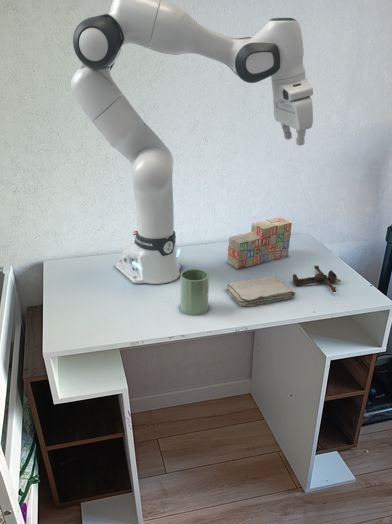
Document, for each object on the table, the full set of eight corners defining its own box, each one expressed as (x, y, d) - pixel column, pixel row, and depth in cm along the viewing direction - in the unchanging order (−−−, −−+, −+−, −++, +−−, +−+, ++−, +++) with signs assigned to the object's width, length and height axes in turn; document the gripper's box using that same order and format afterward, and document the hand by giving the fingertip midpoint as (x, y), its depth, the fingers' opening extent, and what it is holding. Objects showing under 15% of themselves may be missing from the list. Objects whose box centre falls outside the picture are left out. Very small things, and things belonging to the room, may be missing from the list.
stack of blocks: (238, 269, 166) (240, 234, 159) (227, 262, 171) (228, 227, 164) (288, 256, 176) (292, 222, 169) (276, 250, 180) (280, 216, 173)
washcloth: (223, 290, 154) (224, 281, 152) (275, 281, 159) (276, 272, 158) (240, 308, 145) (241, 299, 143) (295, 298, 150) (296, 289, 148)
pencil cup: (175, 307, 145) (174, 274, 139) (195, 298, 149) (195, 266, 144) (193, 317, 140) (193, 283, 134) (213, 308, 145) (214, 275, 139)
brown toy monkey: (285, 263, 163) (329, 257, 164) (285, 275, 166) (328, 269, 167) (303, 289, 149) (351, 282, 150) (302, 301, 151) (349, 294, 152)
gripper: (265, 87, 143) (271, 138, 151) (291, 94, 126) (297, 151, 134) (286, 81, 143) (291, 132, 151) (315, 88, 126) (319, 145, 134)
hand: (294, 141), depth 142 cm, fingers open, 8 cm apart
